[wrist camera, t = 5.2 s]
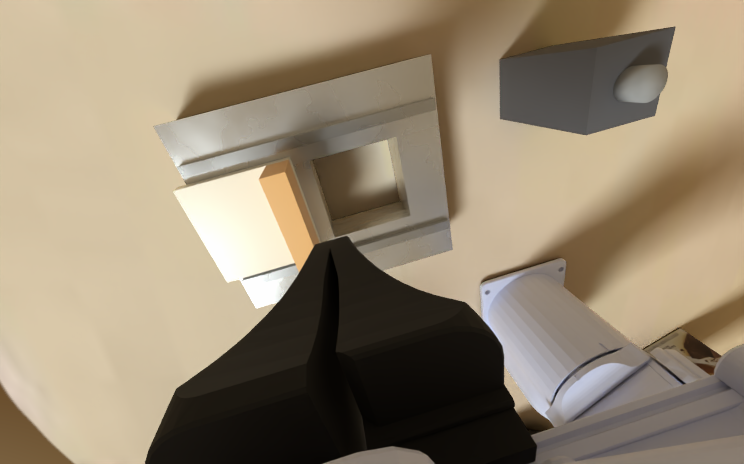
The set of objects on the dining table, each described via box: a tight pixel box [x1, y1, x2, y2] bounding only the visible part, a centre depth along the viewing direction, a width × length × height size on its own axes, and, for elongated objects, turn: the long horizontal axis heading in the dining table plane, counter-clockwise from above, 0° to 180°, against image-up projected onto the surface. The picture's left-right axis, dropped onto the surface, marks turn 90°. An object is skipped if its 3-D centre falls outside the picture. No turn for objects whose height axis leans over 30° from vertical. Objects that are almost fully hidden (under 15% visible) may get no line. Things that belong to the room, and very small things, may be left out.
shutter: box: [173, 157, 321, 283], centre depth 16 cm, size 6×6×3 cm
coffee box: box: [644, 328, 722, 376], centre depth 30 cm, size 9×6×16 cm
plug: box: [500, 27, 675, 135], centre depth 15 cm, size 4×4×8 cm
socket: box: [153, 54, 452, 308], centre depth 18 cm, size 12×14×3 cm
